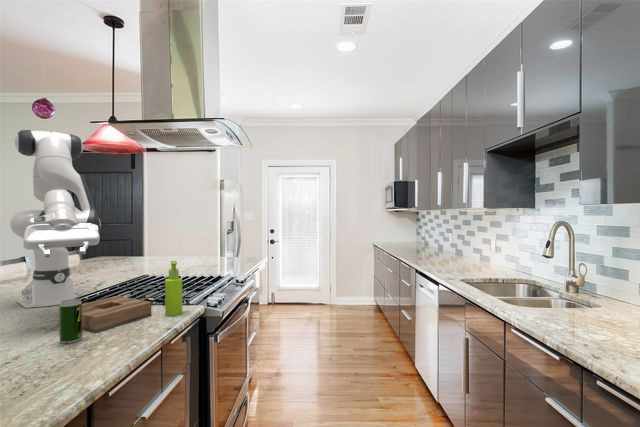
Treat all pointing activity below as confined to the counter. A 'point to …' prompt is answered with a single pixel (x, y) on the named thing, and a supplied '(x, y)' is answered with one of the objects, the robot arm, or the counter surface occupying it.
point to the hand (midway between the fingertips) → (65, 254)
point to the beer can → (70, 320)
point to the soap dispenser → (173, 292)
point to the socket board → (113, 313)
